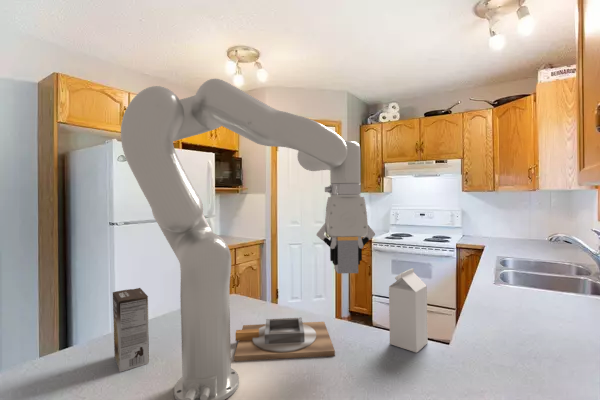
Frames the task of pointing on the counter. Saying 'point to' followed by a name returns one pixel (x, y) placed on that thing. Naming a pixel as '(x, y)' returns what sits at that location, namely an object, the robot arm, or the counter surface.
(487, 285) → the counter surface
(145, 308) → the coffee box
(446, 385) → the counter surface
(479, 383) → the counter surface
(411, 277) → the milk carton
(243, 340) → the rosette board
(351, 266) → the grey orange block
